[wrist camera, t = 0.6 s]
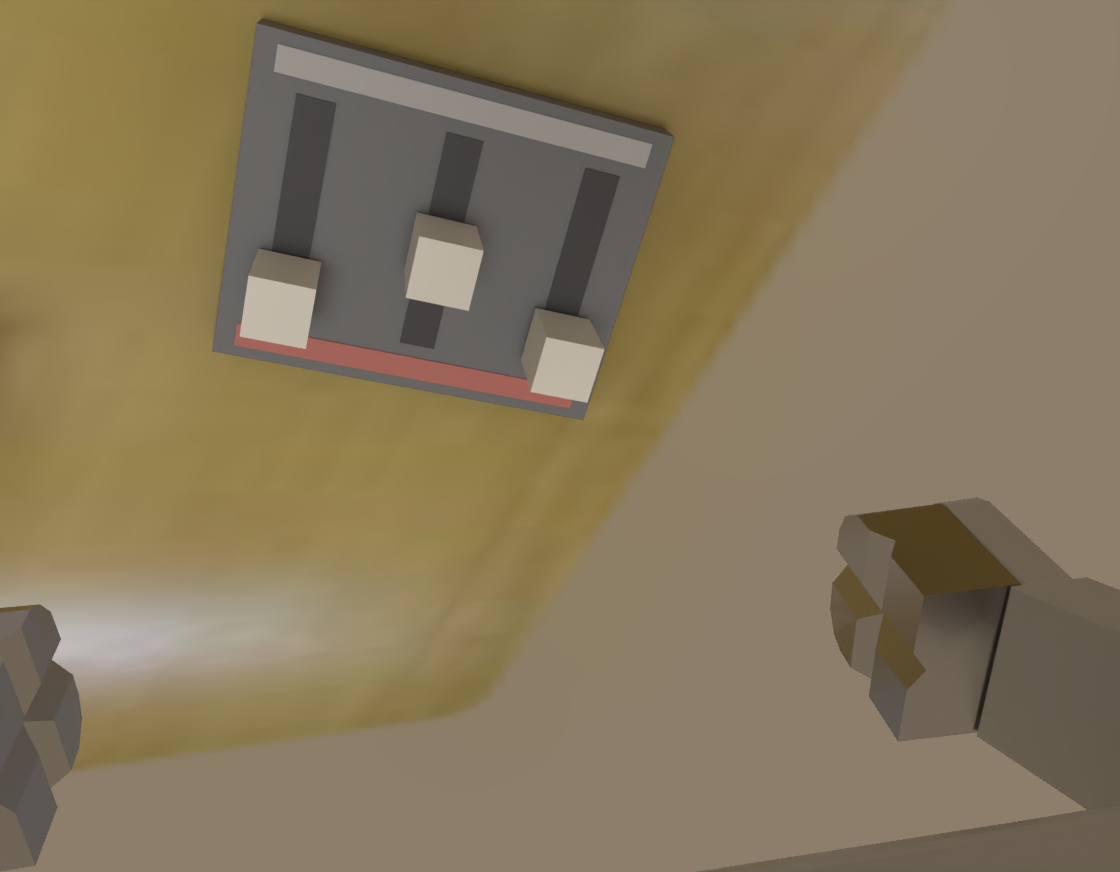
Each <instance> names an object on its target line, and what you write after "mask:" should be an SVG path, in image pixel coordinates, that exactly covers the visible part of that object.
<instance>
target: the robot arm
mask: <svg viewBox="0 0 1120 872" xmlns="http://www.w3.org/2000/svg"><path fill="white" fill-rule="evenodd" d="M837 550H838V551H839V553H840V554H841V556H842V557H843V558H844V560H845V561H846V562H847V564H848V565H847V566H846V567H845V569H844V570H843V571H842V572H841V573H840V575H839V576H838V577H837V578H836V579H835V581H834V582H833V583H832V594H831V605H830V610H831V617H832V624H833V630H834V635H835V638H836V640H837V643H838V646H839V648H840V651H841V652H842V654H843V656H844V658H845V659H846V661H847V662H848V664H849V666H850V667H851V668H853V669H854V670H856V671H858V672H860V673H862V674H864V675H865V676H867V677H869V678H871V685H870V692H869V697H870V699H871V700H872V702H873V703H874V705H875V707H876V708H877V710H878V711H879V713H880V714H881V716H882V717H883V719H884V720H885V722H886V724H887V725H888V726H889V728H890V730H891V731H892V733H893V734H894V736H895V737H896V739H897V741H906V740H914V739H923V738H932V737H940V736H949V735H958V734H966V733H975V732H978V733H977V737H979V738H980V739H982V740H983V741H985V742H986V743H988V744H990V745H991V746H992V747H994V748H995V749H997V750H998V751H1000V752H1001V753H1003V754H1004V755H1006V756H1007V757H1009V758H1010V759H1012V760H1013V761H1015V762H1016V763H1018V764H1019V765H1021V766H1022V767H1024V768H1026V769H1027V770H1029V771H1030V772H1032V773H1033V774H1034V775H1036V776H1037V777H1039V778H1040V779H1042V780H1043V781H1045V782H1047V783H1048V784H1050V785H1051V786H1053V787H1054V788H1056V789H1057V790H1058V791H1060V792H1061V793H1063V794H1065V795H1066V796H1068V797H1069V798H1071V799H1072V800H1074V801H1075V802H1077V803H1078V804H1080V805H1081V806H1083V807H1084V808H1086V809H1087V810H1085V811H1079V812H1073V813H1067V814H1060V815H1055V816H1048V817H1042V818H1036V819H1030V820H1024V821H1018V822H1011V823H1005V824H999V825H993V826H987V827H980V828H974V829H967V830H960V831H954V832H948V833H941V834H935V835H929V836H922V837H915V838H909V839H903V840H896V841H890V842H884V843H877V844H871V845H864V846H858V847H852V848H845V849H839V850H832V851H826V852H820V853H813V854H807V855H801V856H794V857H787V858H781V859H775V860H769V861H762V862H756V863H749V864H743V865H737V866H730V867H723V868H717V869H711V870H704V871H698V872H1120V590H1119V589H1116V588H1113V587H1111V586H1108V585H1105V584H1103V583H1100V582H1097V581H1095V580H1092V579H1089V578H1087V577H1086V578H1077V579H1072V578H1071V577H1070V576H1069V575H1068V574H1067V573H1066V572H1065V571H1064V570H1063V569H1061V568H1060V567H1059V566H1058V565H1057V564H1056V563H1055V562H1054V561H1053V560H1052V559H1051V558H1050V557H1049V556H1047V555H1046V554H1045V553H1044V552H1043V551H1042V550H1041V549H1040V548H1039V547H1038V546H1037V545H1035V543H1033V542H1032V541H1031V540H1030V539H1029V538H1028V537H1027V536H1026V535H1025V534H1024V533H1023V532H1022V531H1020V530H1019V529H1018V528H1017V527H1016V526H1015V525H1014V524H1013V523H1012V522H1011V521H1010V520H1009V519H1008V518H1007V517H1006V516H1004V515H1003V514H1002V513H1001V512H1000V511H999V510H998V509H997V508H996V507H995V506H993V505H992V504H991V503H990V502H989V501H987V500H984V499H980V498H977V497H976V498H970V499H962V500H956V501H949V502H942V503H935V504H933V505H926V506H918V507H912V508H903V509H896V510H888V511H880V512H872V513H864V514H857V515H849V516H845V518H844V520H843V522H842V525H841V527H840V530H839V536H838V543H837ZM60 640H61V638H60V635H59V633H58V630H57V627H56V625H55V622H54V619H53V617H52V614H51V612H50V611H49V610H47V609H46V608H44V607H43V606H41V605H40V604H39V605H28V606H17V607H6V608H0V871H6V870H12V869H18V868H24V867H29V866H35V865H36V863H37V860H38V857H39V855H40V852H41V849H42V846H43V844H44V841H45V839H46V836H47V833H48V831H49V828H50V825H51V823H52V820H53V818H54V815H55V812H56V810H57V805H56V802H55V799H54V796H53V793H52V791H51V788H52V787H53V786H54V785H55V784H56V783H57V782H59V781H60V780H61V779H62V778H63V777H64V776H66V775H67V774H68V773H69V772H70V771H71V770H72V767H73V764H74V761H75V758H76V755H77V752H78V749H79V743H80V733H81V722H82V715H81V707H80V700H79V694H78V690H77V687H76V684H75V681H74V678H73V675H72V674H71V673H69V672H68V671H67V670H65V669H64V668H62V667H61V666H60V665H58V664H57V663H55V662H54V661H53V660H52V658H53V656H54V653H55V651H56V649H57V647H58V644H59V642H60Z"/></svg>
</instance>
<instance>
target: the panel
mask: <svg viewBox="0 0 1120 872" xmlns="http://www.w3.org/2000/svg"><path fill="white" fill-rule="evenodd" d="M673 140H674V136H673V135H671V134H670V133H669V132H668V131H666V130H665V129H662V128H659V127H655V126H651V125H648V124H644V123H641V122H637V121H633V120H630V119H626V118H622V117H619V116H615V115H611V114H608V113H604V112H600V111H597V110H593V109H589V108H586V107H582V106H578V105H575V104H571V103H567V102H564V101H560V100H557V99H553V98H549V97H546V96H542V95H538V94H535V93H531V92H527V91H524V90H520V89H516V88H513V87H509V86H505V85H502V84H498V83H494V82H491V81H487V80H484V79H480V78H476V77H473V76H469V75H465V74H462V73H458V72H454V71H451V70H447V69H443V68H440V67H436V66H432V65H429V64H425V63H421V62H418V61H414V60H411V59H407V58H403V57H400V56H396V55H392V54H389V53H385V52H381V51H378V50H374V49H370V48H367V47H363V46H359V45H356V44H352V43H348V42H345V41H341V40H338V39H334V38H330V37H327V36H323V35H319V34H316V33H312V32H308V31H305V30H301V29H297V28H294V27H290V26H286V25H283V24H279V23H275V22H272V21H268V20H265V19H261V20H260V21H259V22H258V23H257V25H256V32H255V40H254V47H253V54H252V62H251V69H250V77H249V84H248V91H247V99H246V106H245V114H244V121H243V128H242V136H241V143H240V150H239V158H238V165H237V173H236V180H235V187H234V195H233V202H232V209H231V217H230V224H229V232H228V239H227V246H226V254H225V261H224V268H223V276H222V283H221V291H220V298H219V305H218V313H217V320H216V327H215V335H214V342H213V350H212V351H213V352H219V353H224V354H229V355H235V356H240V357H246V358H251V359H256V360H262V361H267V362H273V363H278V364H283V365H289V366H294V367H299V368H305V369H310V370H316V371H321V372H326V373H332V374H337V375H343V376H348V377H353V378H359V379H364V380H370V381H375V382H380V383H386V384H391V385H397V386H402V387H407V388H413V389H418V390H424V391H429V392H434V393H440V394H445V395H450V396H456V397H461V398H467V399H472V400H477V401H483V402H488V403H494V404H499V405H504V406H510V407H515V408H521V409H526V410H531V411H537V412H542V413H548V414H553V415H558V416H564V417H569V418H575V419H580V420H584V417H585V414H586V410H587V407H588V404H589V401H590V398H591V395H592V392H593V389H594V386H595V382H596V379H597V376H598V373H599V370H600V367H601V364H602V361H603V358H604V355H605V351H606V348H607V345H608V342H609V339H610V336H611V333H612V330H613V327H614V323H615V320H616V317H617V314H618V311H619V308H620V305H621V302H622V299H623V296H624V292H625V289H626V286H627V283H628V280H629V277H630V274H631V271H632V268H633V264H634V261H635V258H636V255H637V252H638V249H639V246H640V243H641V240H642V237H643V233H644V230H645V227H646V224H647V221H648V218H649V215H650V212H651V209H652V205H653V202H654V199H655V196H656V193H657V190H658V187H659V184H660V181H661V177H662V174H663V171H664V168H665V165H666V162H667V159H668V156H669V153H670V150H671V146H672V143H673ZM417 212H418V213H422V214H426V215H431V216H435V217H439V218H444V219H448V220H452V221H456V222H461V223H465V224H469V225H474V226H477V229H478V233H479V236H480V240H481V243H482V247H483V250H484V252H483V256H482V260H481V264H480V268H479V272H478V276H477V280H476V284H475V288H474V291H473V295H472V299H471V303H470V307H469V311H467V310H462V309H457V308H452V307H447V306H443V305H438V304H433V303H428V302H424V301H419V300H414V299H409V298H406V295H405V275H404V269H405V264H406V260H407V255H408V250H409V246H410V241H411V237H412V232H413V228H414V223H415V218H416V214H417ZM258 249H263V250H268V251H272V252H277V253H282V254H286V255H291V256H296V257H300V258H305V259H310V260H314V261H319V262H321V267H320V273H319V278H318V284H317V290H316V295H315V301H314V306H313V312H312V317H311V323H310V328H309V334H308V340H307V345H306V349H302V348H297V347H292V346H287V345H281V344H276V343H271V342H266V341H260V340H255V339H250V338H245V337H240V330H241V323H242V316H243V309H244V303H245V296H246V289H247V282H248V276H249V273H250V270H251V268H252V265H253V262H254V259H255V257H256V254H257V251H258ZM535 308H538V309H543V310H548V311H552V312H557V313H562V314H566V315H571V316H576V317H580V318H585V319H590V321H591V323H592V325H593V327H594V329H595V331H596V333H597V335H598V337H599V339H600V341H601V343H602V345H603V347H604V352H603V356H602V359H601V362H600V365H599V368H598V371H597V374H596V377H595V380H594V384H593V387H592V390H591V393H590V396H589V399H588V402H587V403H586V402H581V401H575V400H570V399H565V398H560V397H554V396H549V395H544V394H539V393H533V392H530V388H529V385H528V382H527V378H526V375H525V372H524V368H523V365H522V362H521V358H522V354H523V351H524V347H525V343H526V340H527V336H528V333H529V329H530V326H531V322H532V319H533V315H534V312H535Z"/></svg>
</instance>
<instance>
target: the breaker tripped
mask: <svg viewBox="0 0 1120 872" xmlns="http://www.w3.org/2000/svg"><path fill="white" fill-rule="evenodd" d="M483 252H484V250H483V247H482V243H481V240H480V236H479V233H478V229H477V226H474V225H469V224H465V223H461V222H456V221H452V220H448V219H444V218H439V217H435V216H431V215H426V214H422V213H418V212H417V214H416V218H415V223H414V228H413V232H412V237H411V241H410V246H409V250H408V255H407V260H406V264H405V269H404V275H405V295H406V298H409V299H414V300H419V301H424V302H428V303H433V304H438V305H443V306H447V307H452V308H457V309H462V310H467V311H469V307H470V303H471V299H472V295H473V291H474V288H475V284H476V280H477V276H478V272H479V268H480V264H481V260H482V256H483Z"/></svg>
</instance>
